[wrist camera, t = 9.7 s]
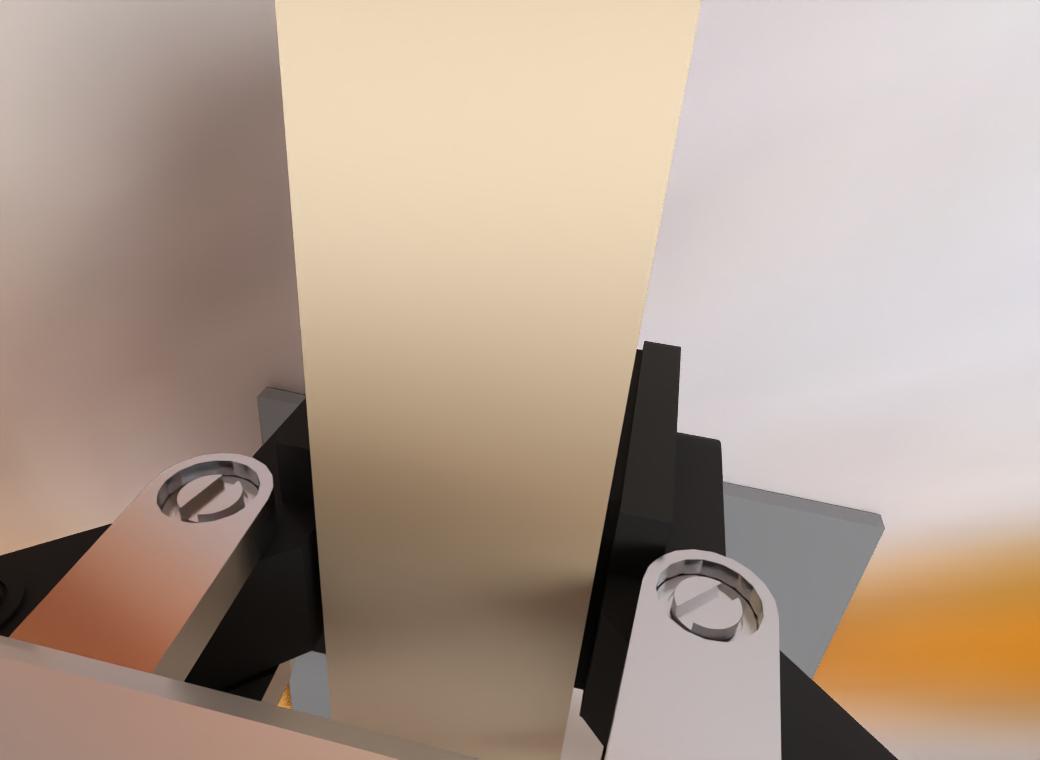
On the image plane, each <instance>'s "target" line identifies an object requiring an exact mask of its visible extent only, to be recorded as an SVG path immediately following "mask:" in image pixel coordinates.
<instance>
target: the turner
mask: <svg viewBox="0 0 1040 760" xmlns="http://www.w3.org/2000/svg"><path fill="white" fill-rule="evenodd" d="M701 1H702V0H275V9H276V22H277V35H278V47H279V60H280V73H281V86H282V98H283V111H284V124H285V137H286V149H287V162H288V175H289V188H290V200H291V213H292V226H293V239H294V251H295V264H296V277H297V290H298V302H299V315H300V328H301V341H302V353H303V366H304V379H305V392H306V404H307V417H308V430H309V443H310V455H311V468H312V481H313V494H314V506H315V519H316V532H317V545H318V557H319V570H320V583H321V596H322V608H323V621H324V634H325V646H326V659H327V672H328V685H329V697H330V710H331V720H334V721H338V722H341V723H345V724H349V725H353V726H357V727H361V728H365V729H368V730H372V731H376V732H380V733H384V734H388V735H392V736H395V737H399V738H403V739H407V740H411V741H415V742H419V743H422V744H426V745H430V746H434V747H438V748H442V749H446V750H449V751H453V752H457V753H461V754H465V755H468V756H472V757H476V758H480V759H483V760H600V758H601V754H602V749H603V745H602V744H601V742H600V741H599V740H598V738H597V737H596V736H595V734H594V733H593V732H592V730H591V729H590V728H589V726H588V725H587V724H586V722H585V721H584V720H583V718H582V717H580V716H579V714H580V708H581V702H582V695H583V690H581V689H577V688H574V682H575V677H576V672H577V666H578V661H579V656H580V650H581V645H582V639H583V634H584V629H585V623H586V618H587V613H588V607H589V602H590V597H591V591H592V586H593V580H594V575H595V570H596V564H597V559H598V554H599V548H600V543H601V538H602V532H603V527H604V521H605V516H606V511H607V505H608V500H609V495H610V489H611V484H612V479H613V473H614V468H615V463H616V457H617V452H618V446H619V441H620V436H621V430H622V425H623V420H624V414H625V409H626V404H627V398H628V393H629V387H630V382H631V377H632V371H633V366H634V361H635V355H636V350H637V345H638V339H639V334H640V328H641V323H642V318H643V312H644V307H645V302H646V296H647V291H648V286H649V280H650V275H651V269H652V264H653V259H654V253H655V248H656V243H657V237H658V232H659V227H660V221H661V216H662V210H663V205H664V200H665V194H666V189H667V184H668V178H669V173H670V168H671V162H672V157H673V151H674V146H675V141H676V135H677V130H678V125H679V119H680V114H681V109H682V103H683V98H684V92H685V87H686V82H687V76H688V71H689V66H690V60H691V55H692V50H693V44H694V39H695V33H696V28H697V23H698V17H699V12H700V7H701Z"/></svg>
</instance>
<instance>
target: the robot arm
mask: <svg viewBox="0 0 1040 760" xmlns="http://www.w3.org/2000/svg"><path fill="white" fill-rule="evenodd" d="M680 356H681V347H678V346H672V345H666V344H660V343H654V342H648V341H644V346H643V350H639V349H637V350H636V355H635V361H634V366H633V371H632V377H631V382H630V387H629V393H628V398H627V404H626V409H625V414H624V420H623V425H622V430H621V436H620V441H619V446H618V452H617V457H616V463H615V468H614V473H613V479H612V484H611V489H610V495H609V500H608V505H607V511H606V516H605V521H604V527H603V532H602V538H601V543H600V548H599V554H598V559H597V564H596V570H595V575H594V580H593V586H592V591H591V597H590V602H589V607H588V613H587V618H586V623H585V629H584V634H583V639H582V645H581V650H580V656H579V661H578V666H577V672H576V677H575V682H574V688H577V689H581V690H583V695H582V702H581V708H580V714H579V716H580V717H582V718H583V720H584V721H585V722H586V724H587V725H588V726H589V728H590V729H591V730H592V732H593V733H594V734H595V736H596V737H597V738H598V740H599V741H600V742H601V744H602V745H603V749H602V754H601V758H600V760H898V759H897V758H896V757H895V756H894V755H892V754H891V753H890V752H889V751H888V750H887V749H886V748H885V747H884V746H883V745H882V744H881V743H880V742H878V741H877V740H876V739H875V738H874V737H873V736H872V735H871V734H870V733H869V732H868V731H867V730H866V729H864V728H863V727H862V726H861V725H860V724H859V723H858V722H857V721H856V720H855V719H854V718H853V717H852V716H850V715H849V714H848V713H847V712H846V711H845V710H844V709H843V708H842V707H841V706H840V705H839V704H838V703H836V702H835V701H834V700H833V699H832V698H831V697H830V696H829V695H828V694H827V693H826V692H825V691H824V690H822V689H821V688H820V687H819V686H818V685H817V684H816V683H815V682H814V681H813V680H812V679H811V678H809V677H808V676H807V675H806V674H805V673H804V672H803V671H802V670H801V669H800V668H799V667H798V666H797V665H795V664H794V663H793V662H792V661H791V660H790V659H789V658H788V657H787V656H786V655H785V654H784V653H783V652H781V651H780V650H779V615H778V611H777V606H776V602H775V599H774V598H773V596H772V594H771V593H770V591H769V589H768V588H767V586H766V584H764V583H763V582H762V581H761V580H760V579H759V578H758V577H757V576H756V575H755V574H754V573H753V572H752V571H751V570H749V569H748V568H746V567H744V566H743V565H741V564H740V563H738V562H736V561H735V560H733V559H730V558H728V557H726V545H725V522H724V499H723V476H722V453H721V442H720V441H719V440H716V439H711V438H705V437H700V436H695V435H689V434H684V433H678V432H677V416H678V396H679V376H680ZM310 651H314V652H318V653H322V654H326V646H325V634H324V621H323V608H322V596H321V583H320V570H319V557H318V545H317V532H316V519H315V506H314V494H313V481H312V468H311V455H310V443H309V430H308V417H307V404H306V398H305V399H304V400H303V401H302V402H301V403H300V405H299V406H298V407H297V408H296V409H295V410H294V411H293V412H292V413H291V415H290V416H289V417H288V418H287V419H286V420H285V421H284V422H283V423H282V425H281V426H280V427H279V428H278V429H277V430H276V431H275V432H274V433H273V434H272V436H271V437H270V438H269V439H268V440H267V441H266V442H265V443H264V444H263V446H262V447H261V448H260V449H259V450H258V451H257V452H256V453H255V454H254V456H253V457H248V456H244V455H241V454H232V453H215V454H208V455H200V456H197V457H194V458H190V459H187V460H184V461H181V462H179V463H177V464H175V465H173V466H171V467H169V468H167V469H166V470H164V471H163V472H162V473H160V474H159V475H158V476H157V477H156V478H154V479H153V480H152V481H151V482H150V483H149V484H148V485H147V486H146V487H145V489H144V490H143V491H142V492H141V493H140V494H139V495H138V496H137V497H136V498H135V500H134V501H133V502H132V503H131V504H130V505H129V506H128V507H127V508H126V509H125V510H124V512H123V513H122V514H121V515H120V516H119V517H118V518H117V519H116V520H115V521H114V522H113V523H112V524H109V525H105V526H102V527H98V528H95V529H91V530H88V531H84V532H81V533H77V534H74V535H70V536H67V537H63V538H60V539H56V540H53V541H50V542H46V543H43V544H39V545H36V546H32V547H29V548H25V549H22V550H18V551H15V552H11V553H8V554H4V555H1V556H0V760H483V759H480V758H476V757H472V756H468V755H465V754H461V753H457V752H453V751H449V750H446V749H442V748H438V747H434V746H430V745H426V744H422V743H419V742H415V741H411V740H407V739H403V738H399V737H395V736H392V735H388V734H384V733H380V732H376V731H372V730H368V729H365V728H361V727H357V726H353V725H349V724H345V723H341V722H338V721H334V720H330V719H326V718H322V717H318V716H314V715H311V714H307V713H303V712H299V711H295V710H291V709H287V708H283V707H280V706H277V705H278V703H279V701H280V699H281V697H282V695H283V693H284V691H285V689H286V686H287V684H288V682H289V680H290V678H291V676H292V672H293V669H294V665H295V658H296V657H298V656H301V655H303V654H305V653H308V652H310Z"/></svg>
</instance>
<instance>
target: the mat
mask: <svg viewBox="0 0 1040 760" xmlns="http://www.w3.org/2000/svg"><path fill="white" fill-rule="evenodd" d="M257 398H258V407H259V416H260V425H261V434H262V443H263V444H264V443H265V442H266V441H267V440H268V439H269V438H270V437H271V436H272V434H273V433H274V432H275V431H276V430H277V429H278V428H279V427H280V426H281V425H282V423H283V422H284V421H285V420H286V419H287V418H288V417H289V416H290V415H291V413H292V412H293V411H294V410H295V409H296V408H297V407H298V406H299V405H300V403H301V402H302V401H303V400H304V399H305V398H306V395H302V394H297V393H292V392H287V391H282V390H278V389H273V388H268V387H267V388H266V389H265V390H264V391H263V392H262V393H261V394H260V395H259V396H258V397H257ZM723 499H724V522H725V545H726V557H728V558H730V559H733V560H735V561H736V562H738V563H740V564H741V565H743V566H744V567H746V568H748V569H749V570H751V571H752V572H753V573H754V574H755V575H756V576H757V577H758V578H759V579H760V580H761V581H762V582H763V583H764V584H766V586H767V588H768V589H769V591H770V593H771V594H772V596H773V598H774V599H775V602H776V606H777V611H778V615H779V650H780V651H781V652H783V653H784V654H785V655H786V656H787V657H788V658H789V659H790V660H791V661H792V662H793V663H794V664H795V665H797V666H798V667H799V668H800V669H801V670H802V671H803V672H804V673H805V674H806V675H807V676H808V677H809V678H811V679H812V678H813V676H814V674H815V672H816V670H817V668H818V666H819V664H820V662H821V660H822V658H823V656H824V654H825V651H826V649H827V647H828V645H829V643H830V641H831V639H832V637H833V635H834V633H835V631H836V629H837V627H838V625H839V622H840V620H841V618H842V616H843V614H844V612H845V610H846V608H847V606H848V604H849V602H850V600H851V598H852V596H853V594H854V591H855V589H856V587H857V585H858V583H859V581H860V579H861V577H862V575H863V573H864V571H865V569H866V567H867V565H868V562H869V560H870V558H871V556H872V554H873V552H874V550H875V548H876V546H877V544H878V542H879V540H880V538H881V536H882V534H883V531H884V529H885V527H884V524H883V521H882V518H881V515H879V514H874V513H869V512H865V511H860V510H855V509H850V508H845V507H841V506H836V505H831V504H826V503H821V502H817V501H812V500H807V499H802V498H797V497H792V496H788V495H783V494H778V493H773V492H768V491H764V490H759V489H754V488H749V487H744V486H740V485H735V484H730V483H725V482H723ZM289 686H290V695H291V704H292V710H295V711H299V712H303V713H307V714H311V715H314V716H318V717H322V718H326V719H330V720H331V710H330V697H329V685H328V672H327V659H326V654H322V653H318V652H314V651H310V652H308V653H305V654H303V655H301V656H298V657H296V658H295V665H294V669H293V672H292V676H291V678H290V680H289Z"/></svg>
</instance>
